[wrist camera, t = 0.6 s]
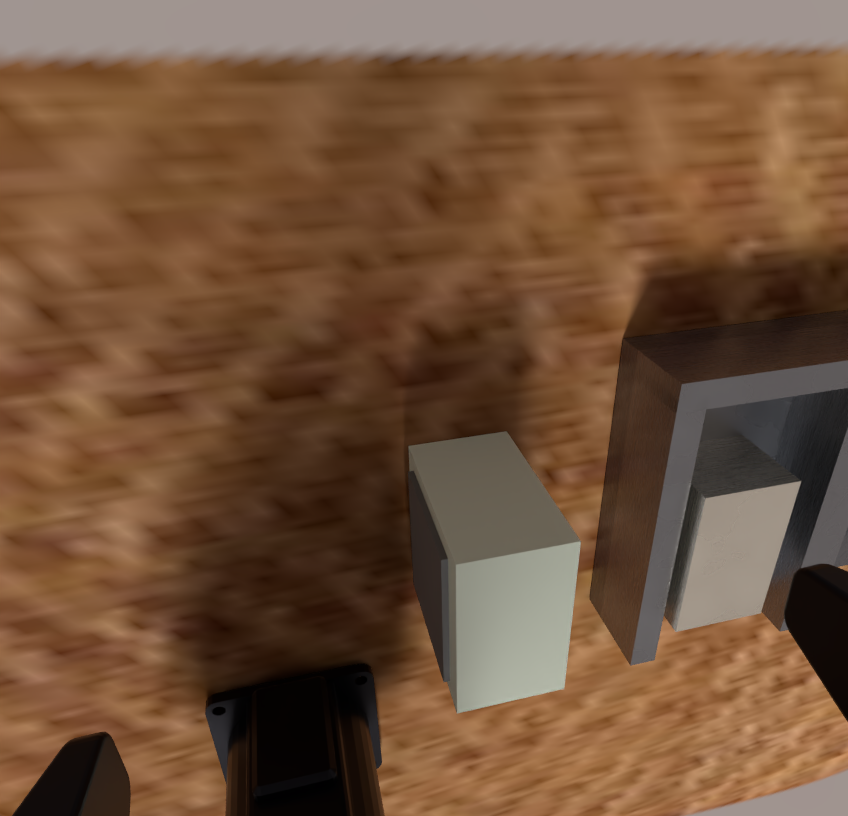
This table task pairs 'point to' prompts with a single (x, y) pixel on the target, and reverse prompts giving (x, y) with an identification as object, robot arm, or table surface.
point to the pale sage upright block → (491, 569)
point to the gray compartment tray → (722, 475)
